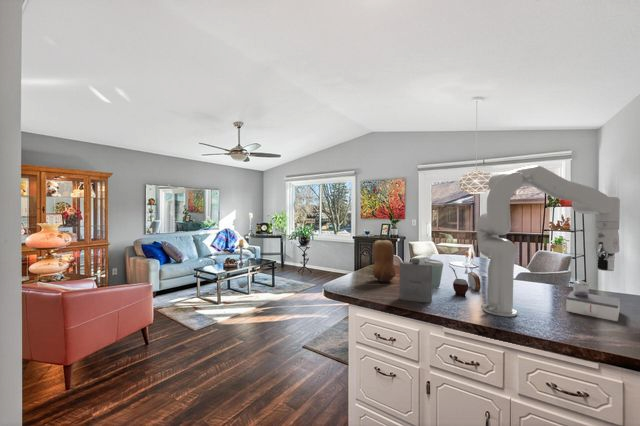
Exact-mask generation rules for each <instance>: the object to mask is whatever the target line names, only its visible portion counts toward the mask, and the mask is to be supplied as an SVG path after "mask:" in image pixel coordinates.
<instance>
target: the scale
mask: <svg viewBox="0 0 640 426" xmlns="http://www.w3.org/2000/svg"><path fill="white" fill-rule="evenodd" d="M620 299H621V298H617V297H610V296H604V295H600V294H599V295H597V294H592V293H588V297H587V298H584V297H578V296H574V295H573V290H571V291H570V292H569V294H568V295H567V296H566V301H565V303H566V304H565V305H566V306H565V312H569V313H573V314H574V313H575V314H579V315H583V316H589V317H594V318H598V319H599V318H600V319H604V320H609V321H614V322H618V321H619V316H620V304H621V302H620Z"/></svg>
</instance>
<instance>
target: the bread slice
mask: <svg viewBox="0 0 640 426" xmlns="http://www.w3.org/2000/svg"><path fill="white" fill-rule="evenodd" d="M467 282H468V287H470V289H472V290H473V291H475V292H476V291H478V292H479V291H480V290H481V288H482V287H481V285H482V283H481V278H480V276H479V274H477V273H475V272H473V271H471V272H468V274H467Z"/></svg>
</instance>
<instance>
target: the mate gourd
mask: <svg viewBox="0 0 640 426" xmlns="http://www.w3.org/2000/svg"><path fill="white" fill-rule="evenodd" d="M448 266H449V267H450V269H451V270H452V272H453V273H454V275H455V278H456V279H454V280H453V283H452V288H453V290H454V292H455V293H454V296H455V297H462V298H466V297H467V296H466V295H467V292H468V291H469V283H468V280H466V279H464V278H458V276H457V273H456V270H455V268H454V267H452V266H450V265H448Z"/></svg>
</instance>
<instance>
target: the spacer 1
mask: <svg viewBox="0 0 640 426" xmlns="http://www.w3.org/2000/svg"><path fill="white" fill-rule="evenodd" d="M589 289H590V288H589V283H588V282H586V281H581V280H580V281H579V280H574V281H573V290H572V291H573V295H574V296H578V297H584V298H587V297H588V294H589Z"/></svg>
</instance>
